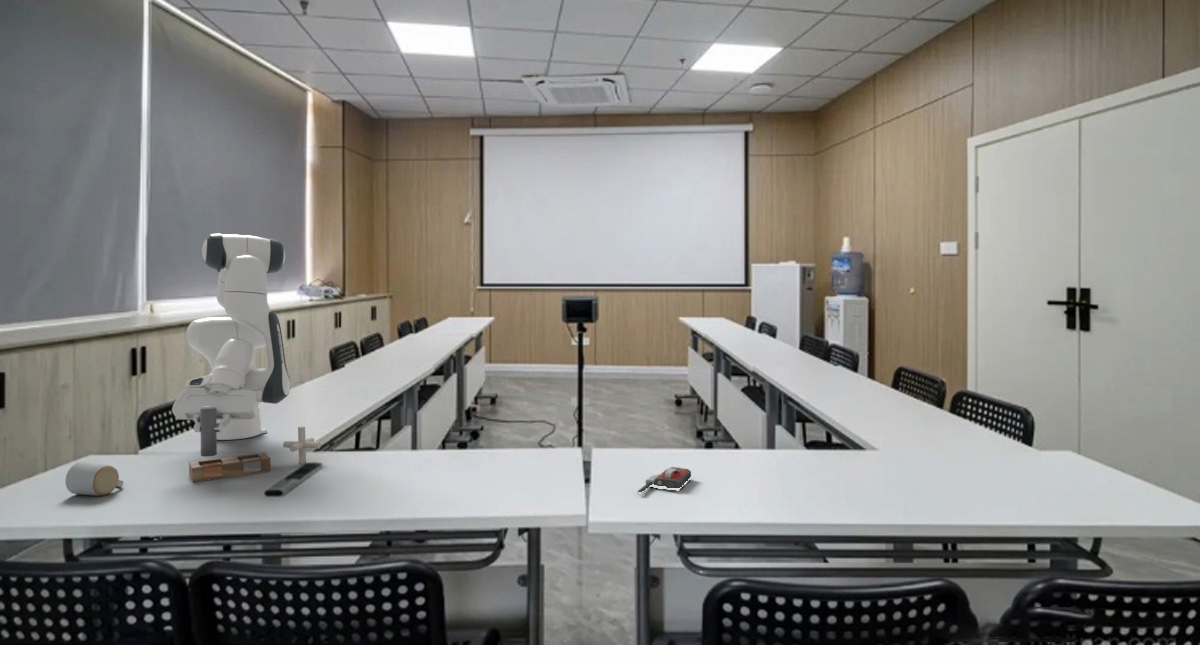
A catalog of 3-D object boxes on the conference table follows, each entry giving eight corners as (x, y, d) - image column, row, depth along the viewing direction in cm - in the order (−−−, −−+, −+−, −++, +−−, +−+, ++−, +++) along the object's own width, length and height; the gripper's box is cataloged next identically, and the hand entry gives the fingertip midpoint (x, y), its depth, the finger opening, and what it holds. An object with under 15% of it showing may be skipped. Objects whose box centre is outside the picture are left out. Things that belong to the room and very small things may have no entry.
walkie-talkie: (660, 476, 184) (634, 497, 165) (660, 460, 183) (634, 479, 165) (693, 480, 180) (670, 502, 162) (693, 463, 180) (670, 483, 162)
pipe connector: (328, 458, 200) (327, 423, 199) (310, 467, 190) (309, 431, 190) (294, 457, 201) (294, 423, 200) (275, 466, 191) (274, 430, 190)
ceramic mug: (95, 500, 161) (94, 466, 161) (64, 498, 163) (63, 465, 162) (133, 487, 172) (132, 456, 171) (104, 486, 173) (103, 455, 173)
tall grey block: (200, 454, 181) (199, 405, 180) (216, 452, 183) (215, 404, 182) (201, 457, 178) (200, 407, 177) (217, 455, 180) (217, 406, 180)
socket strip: (189, 475, 183) (189, 460, 182) (265, 464, 193) (264, 451, 193) (192, 482, 176) (192, 467, 175) (271, 471, 186) (270, 457, 186)
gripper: (267, 395, 192) (253, 437, 183) (188, 395, 190) (170, 438, 181) (260, 380, 188) (246, 423, 178) (180, 380, 186) (161, 424, 177)
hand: (207, 431), depth 180 cm, fingers closed on tall grey block, 4 cm apart
